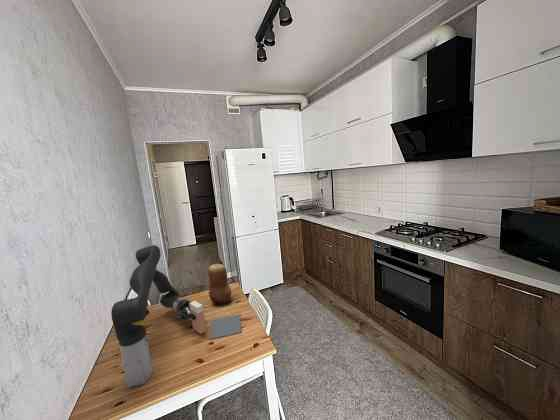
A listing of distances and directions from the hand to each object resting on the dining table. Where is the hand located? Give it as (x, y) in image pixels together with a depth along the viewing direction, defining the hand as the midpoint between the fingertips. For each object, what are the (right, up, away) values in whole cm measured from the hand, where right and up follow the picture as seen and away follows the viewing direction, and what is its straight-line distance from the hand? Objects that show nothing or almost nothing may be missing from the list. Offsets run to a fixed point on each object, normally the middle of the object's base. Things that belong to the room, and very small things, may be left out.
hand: (198, 316), depth 115 cm
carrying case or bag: (-44, -12, +20) cm, 49 cm away
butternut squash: (+4, -5, +30) cm, 31 cm away
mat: (+13, -8, +5) cm, 16 cm away
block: (0, -8, +1) cm, 8 cm away
